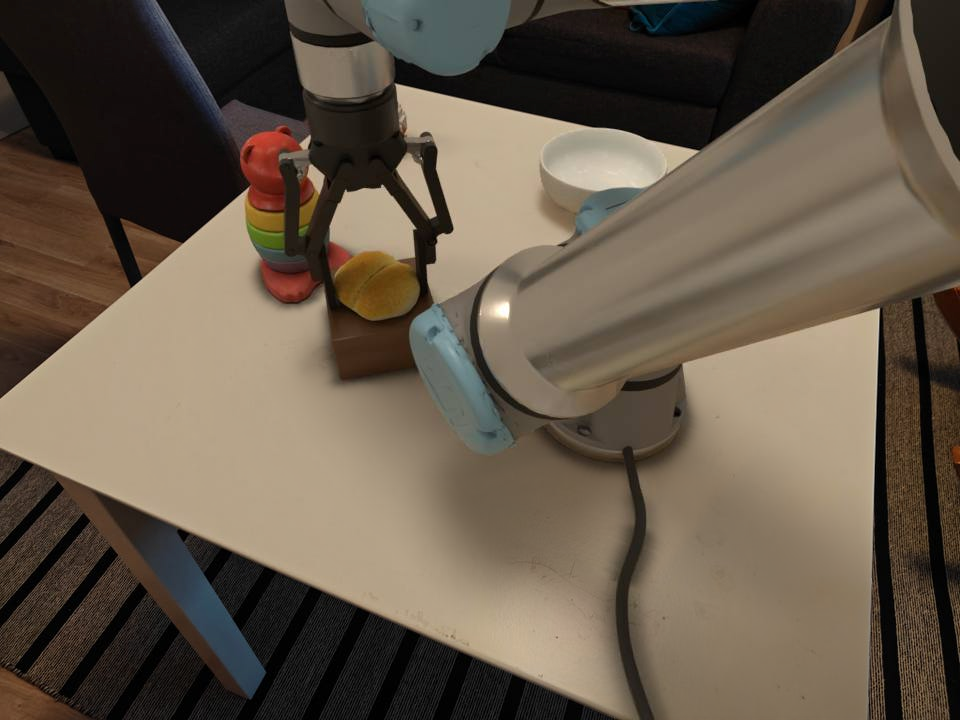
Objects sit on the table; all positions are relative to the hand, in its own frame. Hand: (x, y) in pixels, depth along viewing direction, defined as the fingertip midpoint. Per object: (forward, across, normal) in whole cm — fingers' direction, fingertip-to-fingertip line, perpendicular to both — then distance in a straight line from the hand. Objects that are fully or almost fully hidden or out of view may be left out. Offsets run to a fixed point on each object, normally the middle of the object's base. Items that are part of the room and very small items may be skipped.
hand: (377, 292), depth 68 cm
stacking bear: (+7, +8, -14) cm, 17 cm away
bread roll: (0, 0, 0) cm, 0 cm away
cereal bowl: (+7, -33, -19) cm, 39 cm away
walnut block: (+6, 0, 0) cm, 6 cm away
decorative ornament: (+7, -6, -41) cm, 42 cm away
